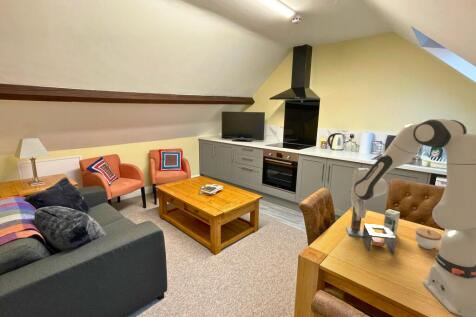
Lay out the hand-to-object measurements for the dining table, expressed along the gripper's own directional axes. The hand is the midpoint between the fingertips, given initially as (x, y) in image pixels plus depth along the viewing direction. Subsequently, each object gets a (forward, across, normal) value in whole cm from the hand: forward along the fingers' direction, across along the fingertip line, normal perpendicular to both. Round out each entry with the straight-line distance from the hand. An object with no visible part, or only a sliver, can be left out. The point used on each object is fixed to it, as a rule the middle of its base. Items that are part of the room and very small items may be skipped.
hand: (356, 217), depth 138 cm
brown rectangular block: (+8, 0, 0) cm, 8 cm away
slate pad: (+10, 0, 0) cm, 10 cm away
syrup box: (+10, +3, -19) cm, 22 cm away
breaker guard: (+10, -11, -9) cm, 17 cm away
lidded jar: (+10, -5, -34) cm, 36 cm away
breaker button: (+8, -11, -9) cm, 17 cm away
